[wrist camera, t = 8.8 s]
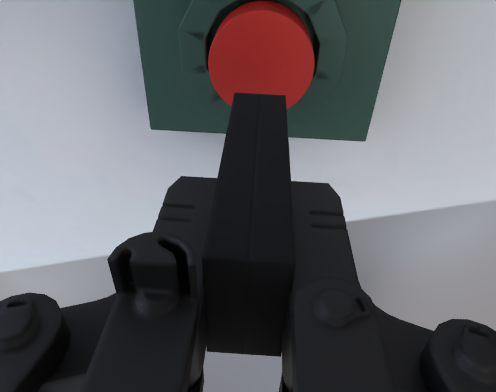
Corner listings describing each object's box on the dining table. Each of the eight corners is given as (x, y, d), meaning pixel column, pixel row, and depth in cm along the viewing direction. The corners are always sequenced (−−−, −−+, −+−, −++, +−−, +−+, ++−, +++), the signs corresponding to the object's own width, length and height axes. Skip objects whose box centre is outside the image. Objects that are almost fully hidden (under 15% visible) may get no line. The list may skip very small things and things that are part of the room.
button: (214, 97, 19) (209, 113, 18) (212, -3, 16) (206, 7, 15) (304, 102, 19) (307, 118, 17) (318, 2, 16) (322, 13, 15)
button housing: (159, 112, 24) (141, 146, 20) (135, -94, 17) (105, -91, 14) (358, 123, 23) (372, 160, 20) (407, -82, 17) (436, -76, 14)
